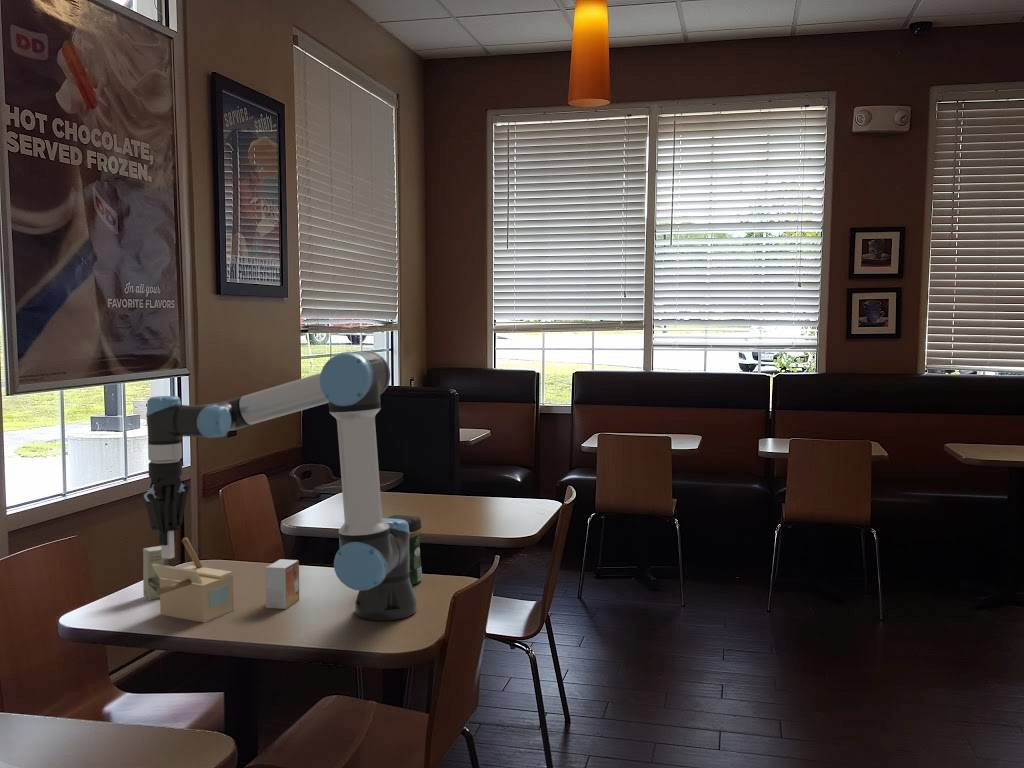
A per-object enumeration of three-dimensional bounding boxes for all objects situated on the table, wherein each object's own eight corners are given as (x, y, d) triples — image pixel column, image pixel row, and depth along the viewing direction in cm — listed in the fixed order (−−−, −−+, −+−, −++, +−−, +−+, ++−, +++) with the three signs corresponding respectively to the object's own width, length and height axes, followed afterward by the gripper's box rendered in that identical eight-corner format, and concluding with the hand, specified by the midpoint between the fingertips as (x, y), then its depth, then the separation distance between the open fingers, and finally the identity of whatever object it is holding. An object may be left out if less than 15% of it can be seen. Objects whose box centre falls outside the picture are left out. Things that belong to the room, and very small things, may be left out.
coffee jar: (381, 584, 238) (380, 517, 237) (394, 576, 246) (394, 511, 245) (413, 587, 235) (413, 519, 234) (426, 579, 243) (425, 513, 241)
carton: (234, 610, 217) (233, 574, 216) (204, 622, 208) (203, 585, 207) (191, 602, 223) (190, 568, 222) (160, 614, 214) (159, 578, 213)
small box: (286, 609, 217) (285, 568, 217) (265, 608, 218) (264, 567, 218) (300, 599, 225) (299, 559, 224) (280, 598, 226) (279, 558, 226)
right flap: (233, 573, 217) (232, 537, 216) (215, 580, 211) (214, 542, 211) (191, 567, 222) (190, 531, 222) (173, 573, 217) (172, 537, 216)
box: (148, 600, 224) (147, 551, 223) (143, 596, 228) (141, 548, 227) (169, 596, 228) (168, 548, 227) (163, 592, 231) (162, 544, 230)
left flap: (193, 564, 204) (167, 592, 197) (202, 583, 207) (177, 611, 200) (150, 558, 210) (123, 585, 203) (160, 576, 213) (134, 603, 206)
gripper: (174, 455, 217) (176, 549, 218) (131, 463, 205) (134, 562, 206) (197, 457, 213) (199, 552, 215) (155, 465, 202) (158, 566, 203)
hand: (168, 557), depth 211 cm, fingers closed
